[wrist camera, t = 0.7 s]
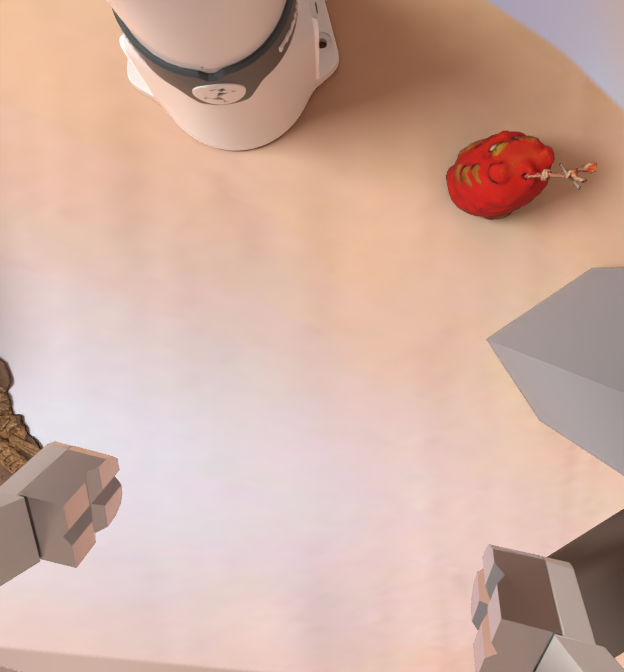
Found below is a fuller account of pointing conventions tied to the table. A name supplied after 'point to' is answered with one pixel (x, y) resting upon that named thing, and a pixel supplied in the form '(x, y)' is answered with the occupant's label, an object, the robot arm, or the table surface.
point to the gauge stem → (601, 579)
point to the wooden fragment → (12, 434)
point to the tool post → (574, 362)
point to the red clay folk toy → (504, 174)
